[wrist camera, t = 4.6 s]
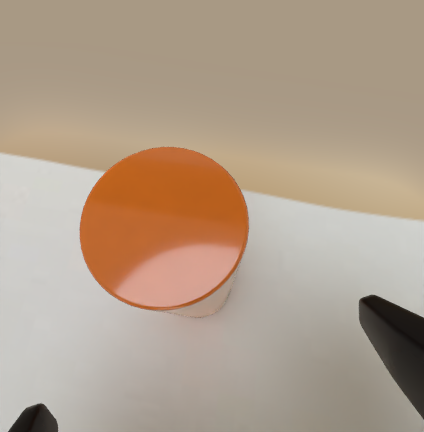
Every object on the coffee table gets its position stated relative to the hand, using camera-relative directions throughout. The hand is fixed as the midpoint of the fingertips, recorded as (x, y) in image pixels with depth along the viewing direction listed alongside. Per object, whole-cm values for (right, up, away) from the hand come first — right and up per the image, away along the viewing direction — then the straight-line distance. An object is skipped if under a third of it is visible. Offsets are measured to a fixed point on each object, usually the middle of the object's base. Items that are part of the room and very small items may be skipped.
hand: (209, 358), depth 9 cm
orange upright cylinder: (-1, 0, +11) cm, 11 cm away
